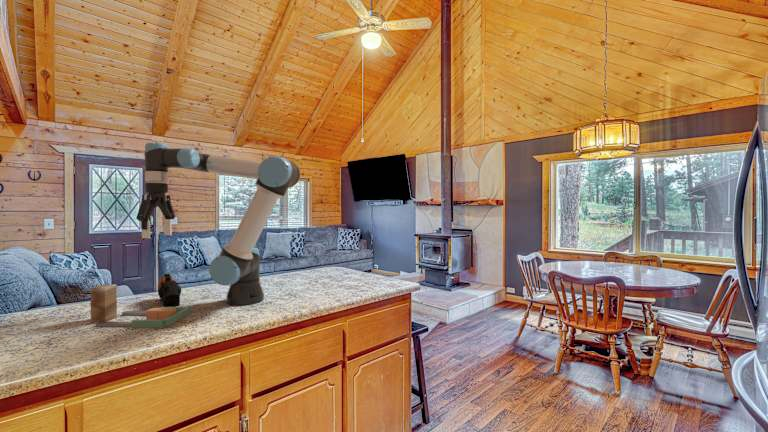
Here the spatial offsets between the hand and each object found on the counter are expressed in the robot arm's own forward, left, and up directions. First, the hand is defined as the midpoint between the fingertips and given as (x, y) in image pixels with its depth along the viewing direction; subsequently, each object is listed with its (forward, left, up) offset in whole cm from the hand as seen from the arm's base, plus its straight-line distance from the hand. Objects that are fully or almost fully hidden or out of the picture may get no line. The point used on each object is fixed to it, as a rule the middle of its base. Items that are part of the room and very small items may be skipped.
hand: (157, 236), depth 140 cm
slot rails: (+2, +14, -29) cm, 32 cm away
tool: (-1, -6, -29) cm, 30 cm away
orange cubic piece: (-8, +14, -29) cm, 33 cm away
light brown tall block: (+11, +14, -29) cm, 34 cm away
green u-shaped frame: (-10, +14, -29) cm, 33 cm away
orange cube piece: (-12, +14, -29) cm, 34 cm away
